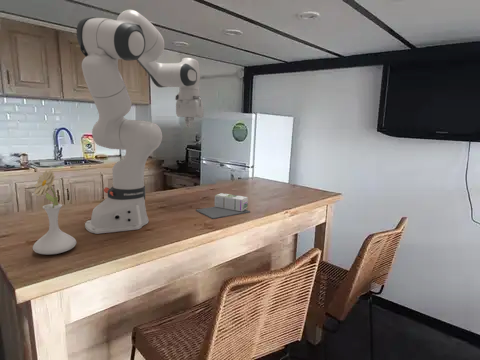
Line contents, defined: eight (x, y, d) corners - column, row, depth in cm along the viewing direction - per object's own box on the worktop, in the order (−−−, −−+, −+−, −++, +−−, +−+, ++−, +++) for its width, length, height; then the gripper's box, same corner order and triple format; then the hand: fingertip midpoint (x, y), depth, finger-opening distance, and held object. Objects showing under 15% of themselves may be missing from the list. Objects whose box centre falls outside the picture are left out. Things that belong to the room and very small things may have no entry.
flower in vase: (33, 246, 98) (26, 165, 93) (75, 240, 103) (70, 164, 99) (32, 263, 87) (24, 173, 82) (79, 256, 93) (74, 171, 88)
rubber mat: (212, 219, 131) (212, 218, 131) (195, 210, 142) (195, 209, 142) (250, 212, 143) (250, 211, 143) (232, 204, 154) (232, 203, 154)
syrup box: (214, 207, 147) (242, 212, 141) (214, 194, 146) (243, 199, 140) (220, 204, 153) (247, 209, 146) (220, 192, 151) (248, 196, 145)
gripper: (207, 96, 138) (206, 128, 141) (185, 97, 154) (185, 126, 157) (194, 95, 134) (193, 128, 137) (173, 96, 150) (173, 126, 153)
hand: (189, 127), depth 147 cm, fingers closed
